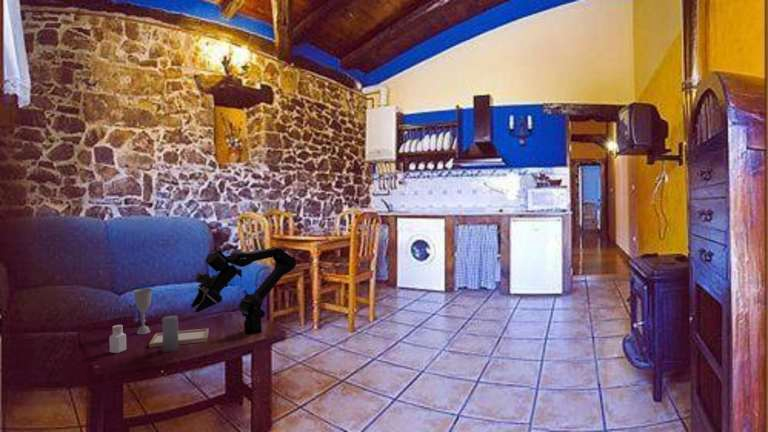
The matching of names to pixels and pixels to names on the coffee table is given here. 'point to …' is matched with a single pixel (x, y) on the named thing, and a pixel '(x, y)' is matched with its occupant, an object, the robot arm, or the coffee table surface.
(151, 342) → the serving tray
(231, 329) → the coffee table surface
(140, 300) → the chalice
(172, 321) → the grey upright block
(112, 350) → the pepper shaker
